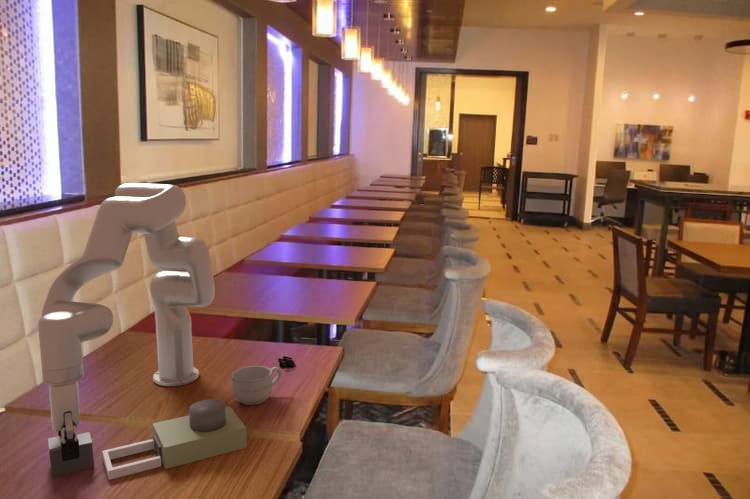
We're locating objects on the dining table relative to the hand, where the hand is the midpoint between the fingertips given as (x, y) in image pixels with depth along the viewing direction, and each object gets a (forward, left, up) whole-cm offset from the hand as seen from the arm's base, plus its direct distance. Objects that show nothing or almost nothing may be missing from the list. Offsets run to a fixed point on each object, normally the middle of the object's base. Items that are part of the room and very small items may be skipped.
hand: (69, 448), depth 128 cm
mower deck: (+4, +21, -5) cm, 22 cm away
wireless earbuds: (-30, +62, -5) cm, 69 cm away
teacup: (-12, +46, -5) cm, 48 cm away
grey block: (0, 0, -5) cm, 5 cm away
